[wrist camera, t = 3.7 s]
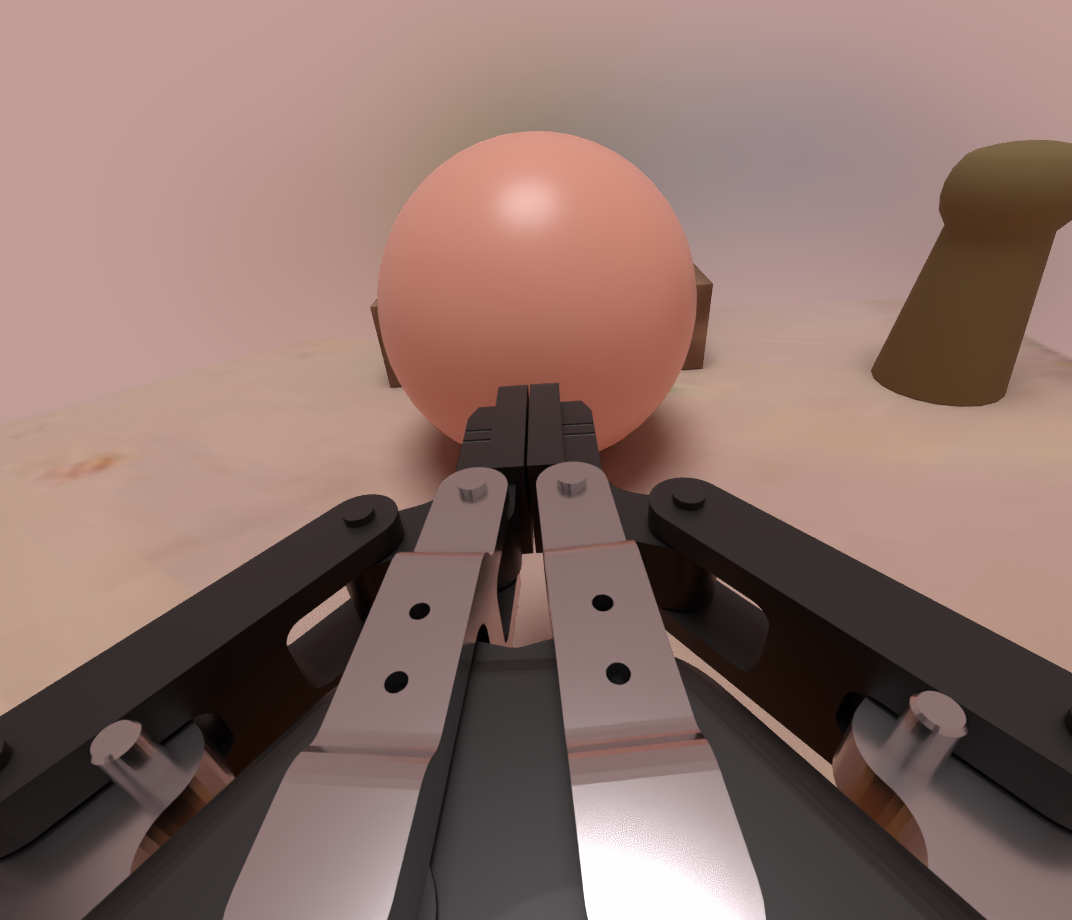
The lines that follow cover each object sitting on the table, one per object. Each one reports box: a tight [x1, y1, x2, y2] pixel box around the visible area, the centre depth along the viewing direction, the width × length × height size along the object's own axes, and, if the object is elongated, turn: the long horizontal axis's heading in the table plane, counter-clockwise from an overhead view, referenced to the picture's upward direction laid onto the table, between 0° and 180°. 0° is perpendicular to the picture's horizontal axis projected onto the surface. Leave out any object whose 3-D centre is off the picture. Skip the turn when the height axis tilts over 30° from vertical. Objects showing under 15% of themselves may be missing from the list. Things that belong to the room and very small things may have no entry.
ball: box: [377, 131, 697, 451], centre depth 22 cm, size 13×13×13 cm
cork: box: [871, 140, 1072, 406], centre depth 25 cm, size 6×6×11 cm
